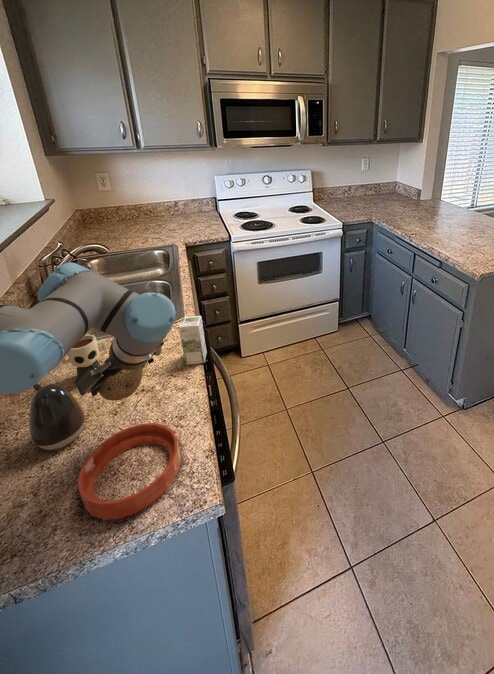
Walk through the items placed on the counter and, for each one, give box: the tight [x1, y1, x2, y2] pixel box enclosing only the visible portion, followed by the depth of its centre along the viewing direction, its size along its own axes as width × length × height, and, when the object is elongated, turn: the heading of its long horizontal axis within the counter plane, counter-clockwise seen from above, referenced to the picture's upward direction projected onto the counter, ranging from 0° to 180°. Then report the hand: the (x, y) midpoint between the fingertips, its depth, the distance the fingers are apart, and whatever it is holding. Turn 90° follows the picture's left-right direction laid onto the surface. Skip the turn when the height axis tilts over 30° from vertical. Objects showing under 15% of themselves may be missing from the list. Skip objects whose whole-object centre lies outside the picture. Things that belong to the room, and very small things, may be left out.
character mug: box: [60, 334, 107, 382], centre depth 102 cm, size 11×7×13 cm, turn 130°
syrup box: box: [178, 315, 208, 366], centre depth 109 cm, size 6×6×14 cm
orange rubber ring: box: [77, 422, 181, 521], centre depth 75 cm, size 18×18×5 cm
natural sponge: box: [98, 367, 144, 402], centre depth 79 cm, size 9×9×10 cm
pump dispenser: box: [28, 382, 86, 451], centre depth 82 cm, size 10×10×15 cm
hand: (115, 377), depth 81 cm, fingers closed on natural sponge, 9 cm apart
